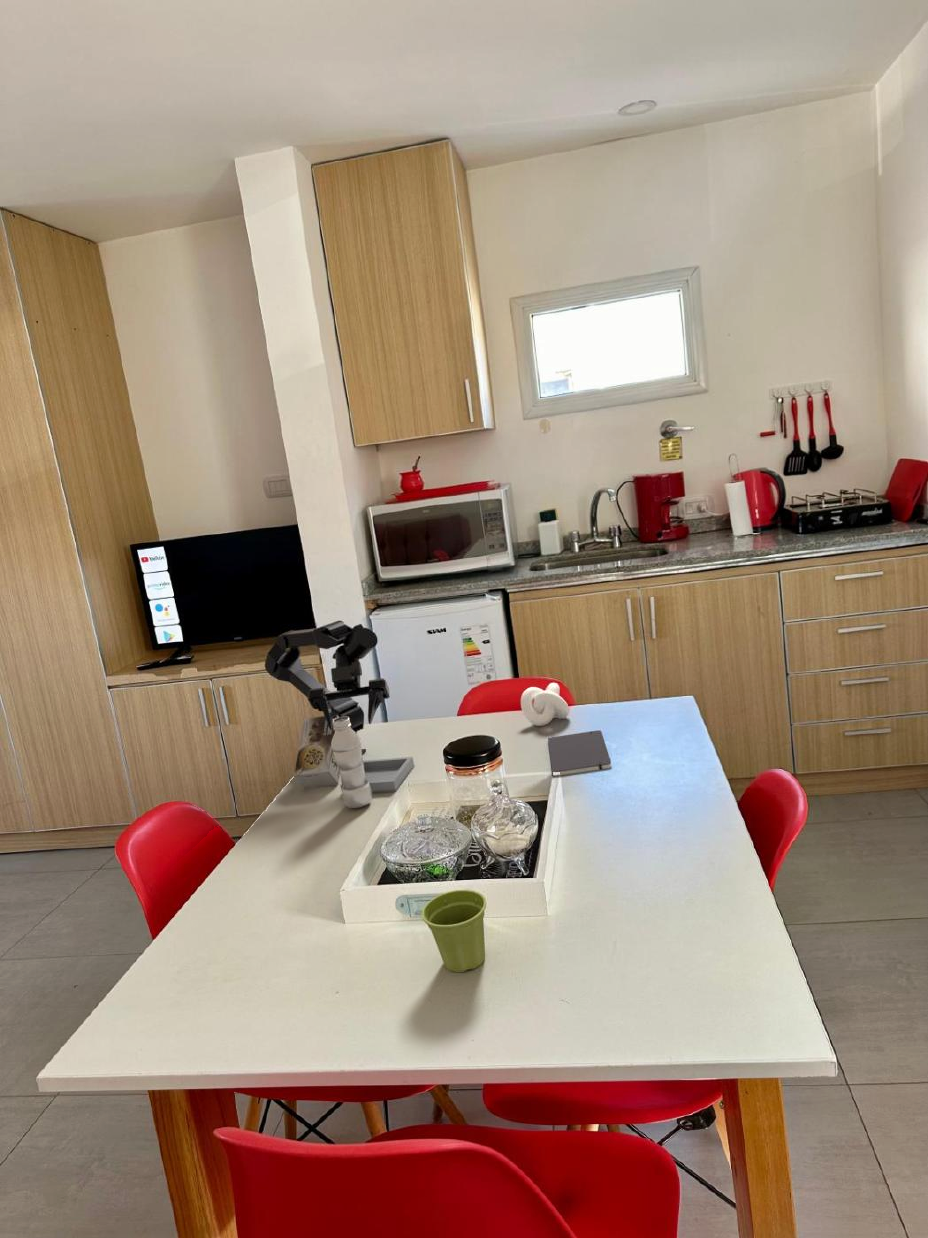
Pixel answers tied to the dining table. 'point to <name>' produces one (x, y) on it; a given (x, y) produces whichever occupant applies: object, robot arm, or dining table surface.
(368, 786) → the plastic bottle
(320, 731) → the coffee box
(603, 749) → the notebook
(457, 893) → the plant pot
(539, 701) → the white knot sculpture
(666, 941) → the dining table surface
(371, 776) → the grey square tray
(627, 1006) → the dining table surface
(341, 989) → the dining table surface
